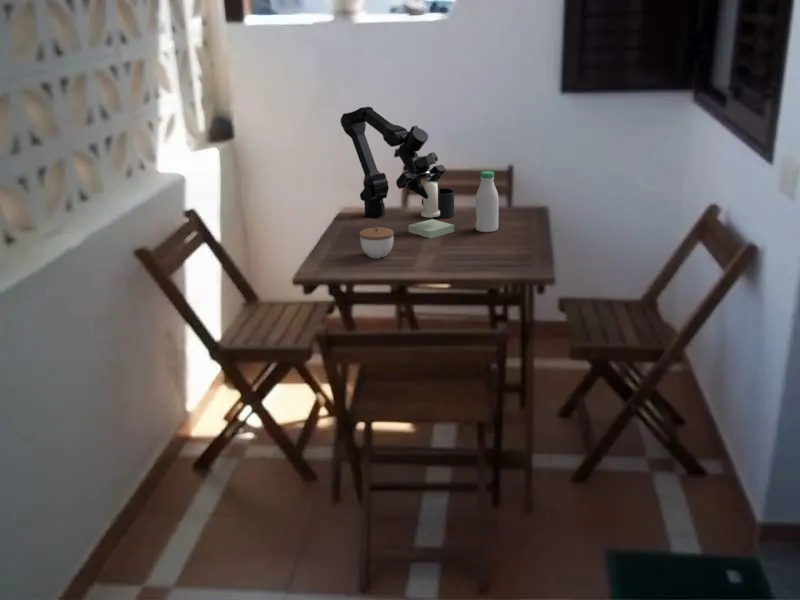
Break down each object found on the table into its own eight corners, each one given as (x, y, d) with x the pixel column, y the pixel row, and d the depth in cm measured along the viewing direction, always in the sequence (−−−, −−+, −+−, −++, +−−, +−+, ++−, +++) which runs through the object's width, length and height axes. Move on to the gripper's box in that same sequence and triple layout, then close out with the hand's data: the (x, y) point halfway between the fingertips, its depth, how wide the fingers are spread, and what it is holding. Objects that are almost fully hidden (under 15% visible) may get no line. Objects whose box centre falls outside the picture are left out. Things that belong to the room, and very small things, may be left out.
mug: (424, 211, 325) (423, 187, 321) (456, 212, 322) (456, 188, 319) (419, 218, 316) (418, 193, 313) (452, 219, 313) (451, 194, 310)
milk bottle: (502, 229, 299) (503, 172, 292) (485, 233, 295) (485, 175, 288) (488, 225, 305) (488, 168, 298) (471, 229, 301) (471, 171, 294)
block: (408, 232, 299) (408, 225, 299) (432, 225, 306) (432, 219, 305) (430, 238, 292) (430, 231, 291) (453, 231, 298) (453, 225, 297)
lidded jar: (355, 253, 278) (354, 225, 275) (386, 248, 282) (385, 220, 279) (367, 262, 269) (366, 233, 266) (399, 257, 273) (398, 228, 270)
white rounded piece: (421, 217, 294) (421, 185, 290) (420, 212, 300) (420, 181, 296) (440, 217, 294) (440, 185, 290) (439, 212, 300) (439, 180, 296)
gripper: (400, 149, 286) (423, 187, 282) (442, 141, 297) (464, 178, 293) (386, 169, 294) (408, 207, 290) (427, 160, 305) (448, 197, 301)
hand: (433, 196), depth 293 cm, fingers closed on white rounded piece, 5 cm apart
